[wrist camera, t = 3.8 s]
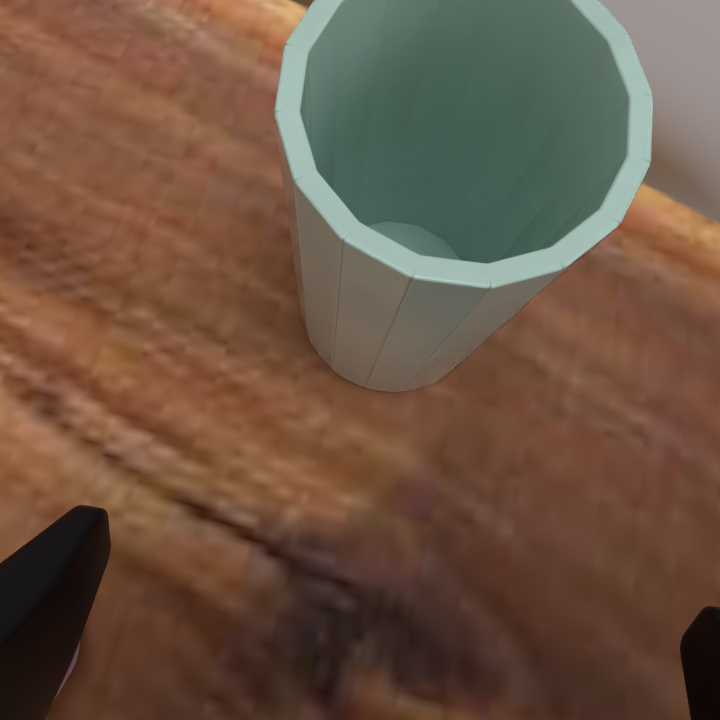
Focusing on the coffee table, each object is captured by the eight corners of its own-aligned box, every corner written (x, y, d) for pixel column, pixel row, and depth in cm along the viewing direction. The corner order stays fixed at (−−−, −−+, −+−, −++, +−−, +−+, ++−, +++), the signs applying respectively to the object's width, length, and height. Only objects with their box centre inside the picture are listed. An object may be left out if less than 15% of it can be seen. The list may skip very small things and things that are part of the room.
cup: (328, 413, 23) (336, 329, 11) (280, 241, 24) (235, -22, 12) (504, 364, 24) (708, 231, 11) (450, 199, 25) (580, -92, 12)
